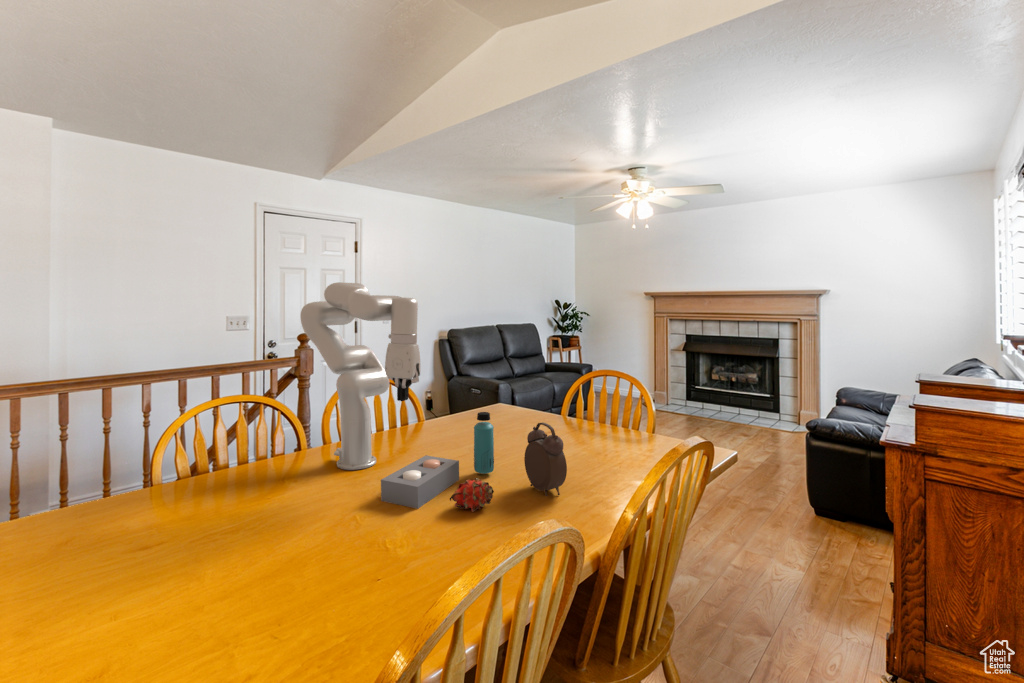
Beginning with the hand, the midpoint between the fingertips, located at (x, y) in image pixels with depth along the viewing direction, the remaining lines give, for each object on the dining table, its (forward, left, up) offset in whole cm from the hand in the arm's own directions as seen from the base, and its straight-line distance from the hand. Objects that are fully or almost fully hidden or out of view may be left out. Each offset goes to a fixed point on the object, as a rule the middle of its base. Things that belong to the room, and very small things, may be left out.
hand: (402, 399), depth 141 cm
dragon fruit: (+28, -8, -25) cm, 39 cm away
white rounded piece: (+9, -8, -23) cm, 26 cm away
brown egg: (+9, +2, -23) cm, 24 cm away
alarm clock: (+42, +11, -25) cm, 50 cm away
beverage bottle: (+20, +15, -25) cm, 35 cm away
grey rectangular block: (+9, -3, -25) cm, 27 cm away
